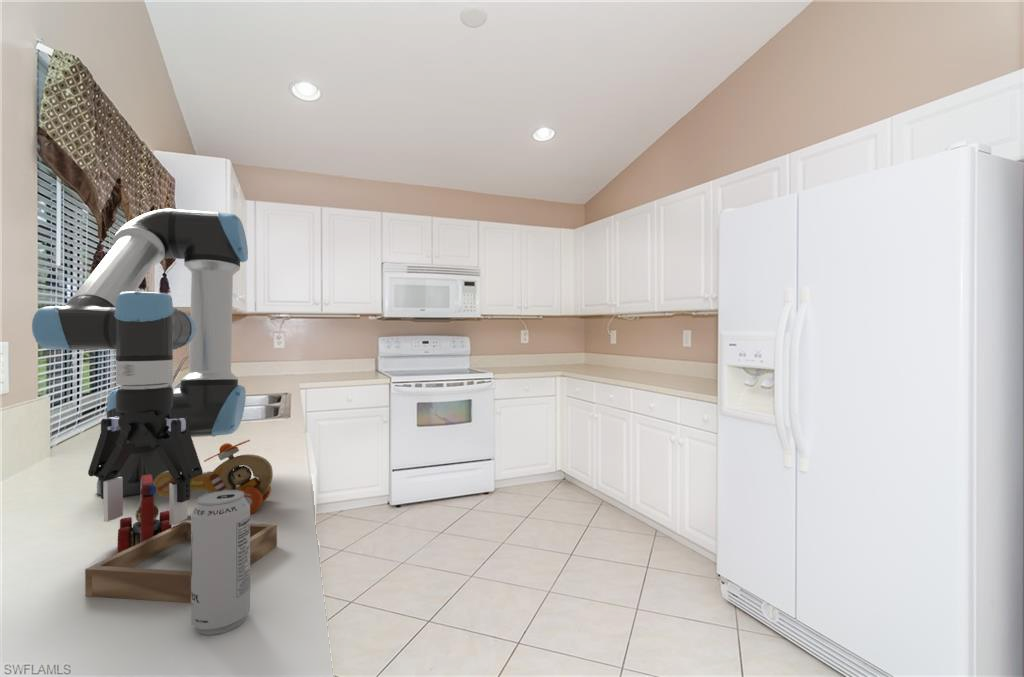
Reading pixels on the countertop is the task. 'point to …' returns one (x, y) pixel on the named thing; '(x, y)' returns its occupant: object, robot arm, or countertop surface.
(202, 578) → the energy drink can
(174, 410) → the robot arm
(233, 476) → the toy helicopter
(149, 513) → the toy fire truck
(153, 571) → the brown wooden tray
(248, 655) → the countertop surface
